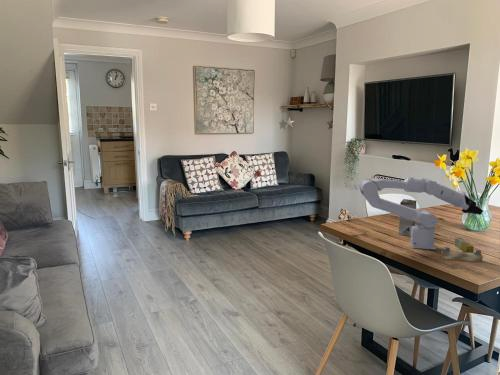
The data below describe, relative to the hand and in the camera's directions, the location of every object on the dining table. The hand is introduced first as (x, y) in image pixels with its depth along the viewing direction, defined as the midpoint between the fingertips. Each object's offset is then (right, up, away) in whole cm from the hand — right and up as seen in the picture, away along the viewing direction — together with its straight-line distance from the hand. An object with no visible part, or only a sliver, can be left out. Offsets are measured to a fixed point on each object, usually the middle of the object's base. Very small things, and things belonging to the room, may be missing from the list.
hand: (478, 208), depth 165 cm
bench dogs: (-13, -19, -11) cm, 26 cm away
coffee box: (-20, -14, +26) cm, 35 cm away
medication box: (-6, -18, 0) cm, 19 cm away
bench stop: (-13, -19, -11) cm, 26 cm away
